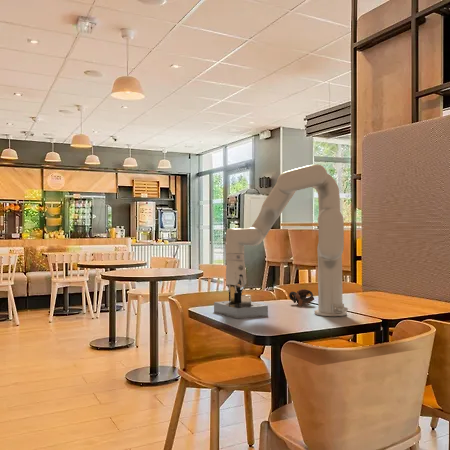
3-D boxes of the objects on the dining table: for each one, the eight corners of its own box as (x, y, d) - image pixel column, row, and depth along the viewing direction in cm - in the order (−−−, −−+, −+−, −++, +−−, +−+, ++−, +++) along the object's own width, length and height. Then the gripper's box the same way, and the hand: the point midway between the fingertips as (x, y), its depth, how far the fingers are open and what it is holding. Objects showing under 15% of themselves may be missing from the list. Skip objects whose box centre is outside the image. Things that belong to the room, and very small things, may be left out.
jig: (267, 315, 187) (267, 295, 187) (236, 318, 180) (236, 297, 180) (243, 309, 204) (242, 290, 205) (214, 311, 198) (213, 292, 198)
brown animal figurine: (315, 305, 219) (317, 290, 215) (308, 316, 212) (310, 302, 207) (291, 297, 224) (292, 283, 220) (283, 308, 216) (285, 294, 212)
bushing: (241, 306, 195) (241, 286, 195) (233, 307, 193) (233, 287, 193) (237, 305, 199) (237, 286, 199) (228, 305, 197) (228, 286, 197)
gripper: (253, 258, 191) (253, 303, 190) (233, 256, 206) (233, 299, 205) (236, 258, 187) (237, 305, 187) (218, 257, 202) (218, 300, 202)
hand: (235, 301), depth 196 cm, fingers closed on bushing, 4 cm apart
